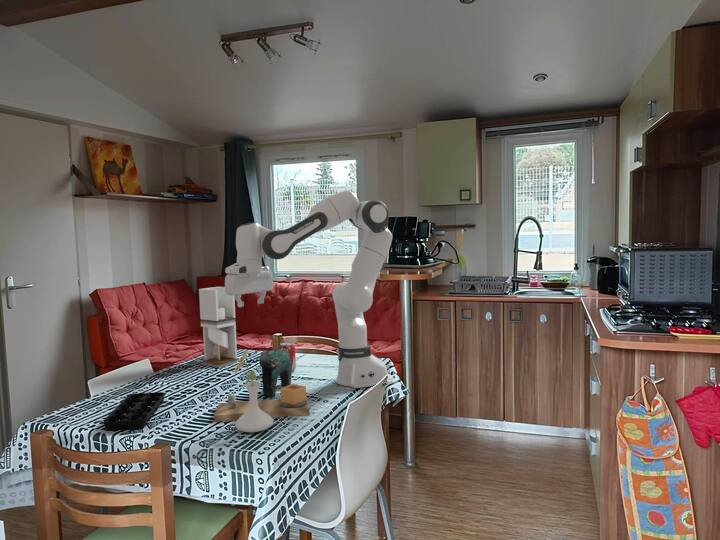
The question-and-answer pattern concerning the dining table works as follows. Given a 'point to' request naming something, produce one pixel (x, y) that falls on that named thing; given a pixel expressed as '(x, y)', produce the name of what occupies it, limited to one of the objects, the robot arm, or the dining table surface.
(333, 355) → the dining table surface
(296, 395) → the orange slotted block
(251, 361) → the dining table surface
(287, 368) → the green animal figurine
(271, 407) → the base board
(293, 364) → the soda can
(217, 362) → the white block sculpture
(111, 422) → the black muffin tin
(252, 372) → the flower in vase
